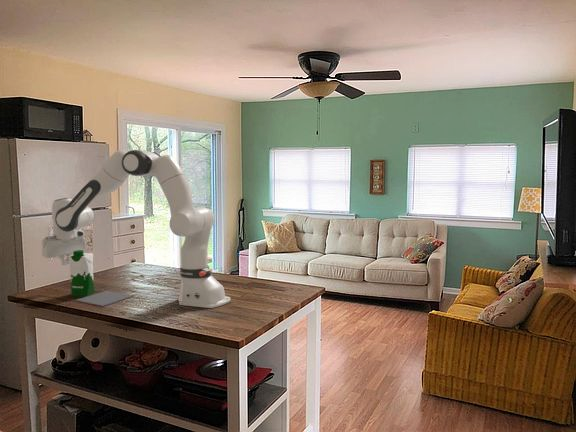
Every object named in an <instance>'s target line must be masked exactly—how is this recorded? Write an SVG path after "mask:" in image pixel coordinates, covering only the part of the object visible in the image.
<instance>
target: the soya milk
mask: <svg viewBox="0 0 576 432" xmlns="http://www.w3.org/2000/svg"><path fill="white" fill-rule="evenodd" d="M68 259H69V263H70V264H69V273H70V290H71V293H70V294H71V297H78V298H84V297H87V296H91V295H94V293H95V284H94V283H95V282H94V263H93V262H94V253H90V252H89V253H88V252H86V253H84V251H83V250H77V251H73V253H72V255H71V256H68Z"/></svg>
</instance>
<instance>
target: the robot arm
mask: <svg viewBox="0 0 576 432" xmlns="http://www.w3.org/2000/svg"><path fill="white" fill-rule="evenodd" d="M179 164H180V163H178V162H177V160H176V159H175V158H174V157H173V155H169V154H165V155H160V154H159V153H157V152H154V151H149V150H144V149H143V150H142V149H133V150H129V151H127V150H124V149H119V150H117V151H115V152H114V153H113V154H111V155H110V157H109V158H108V159H107V160H106V161H105V162H104V164H102V166H101V167H100V168H99V170H98V171H97V172H96V173H95V175H93V177H92V178H91V179H90V180H89V181H88V182H87V183H86V184H85V185H84V186H83V187H82V188H81V189H80V190H79V192H78V193H77V194H76V195H75V196H74V197H73V198H70V197H63V198H59V199H55V200H54V201H53V202H52V204H51V219H52V220H51V221H52V222H53V223H52V224H53V225H52V235H51V236H45V237H44V238H43V239H42V241H41V242H42V248H41V255H42V257H43V258H44V259H52V258H57V257H58V259H59V260H60V261H61V265H63V266H65V265H70V263H69V259H68V256H71V255H73V251H77V250H83V252H86V251H87V239H86V237H85V235H86V232H85V231H84V230H78V229H81V228H85V227H89V226H91V225H92V224H93V222H94V220H95V213H94V210H93V209H92V208H91V207H90V206H89V205H91V203H92V202H93V201H94V200H96V199H98V198H99V197H102V196H105V195H107V194H110V193H113V192H115V191H116V190H118V189H119V188H120V187H121V186H122V185H123V184H124V182H125V181H126V179H128V177H129V176H134V177H141V178H145V177H146V178H147V177H148V178H149V177H155V178H156V180H157V182H158V184H159V187H160V188H161V190H162V192H163V194H164V196H165V198H166V201H167V203H168V206H169V207H168V208H169V211H170V212H169V213H170V220H169V222H168V223H169V229H170V231H171V232H172V233H173V235H175V236H178V237H184V241H183V244H182V246H181V247H180V268H179V275H180V277H181V278H180V280H181V281H180V289H179V295H178V305H179V306H187V307H197V308H199V307H200V308H205V309H206V308H207V309H212V308H217V307H220V306H224V305H225V304H228V303H229V302H231V297H230V296H228V295H226V294H225V293H226V292H225V288H224V286H223V284H221V283H220V282H219V281H218V280H217V279H216V278H215V277H214V276H213V275H212V273H213V272H214V269H213V268H211V269H210V267H209V265H208V264H209V263H208V259H209V258H208V250H209V248H208V246H209V241H210V236H211V232H212V231H211V230H212V228H213V226H214V224H215V220H216V218H215V214H214V212H213V211H212V209H210V208H208V207H205V206H196V207H195V206H194V201H193V192H194V191H193V189H192V187H191V185H190V183H189V180H188V178H187V177H186V174H185V173H184V171H183V169H182V167H181V166H180V165H179ZM65 256H66V257H65ZM65 258H66V259H65Z"/></svg>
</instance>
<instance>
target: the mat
mask: <svg viewBox="0 0 576 432" xmlns="http://www.w3.org/2000/svg"><path fill="white" fill-rule="evenodd" d="M133 297H134V295H131V294H126V293H125V294H124V293H120V292H115V291H110V290H105V291H101V292H98V293H95V294H94V293H93V294H91V295H89V296H87V297H79V298H77V299H75V302H79V303H84V304H88V305H92V306H98V307H106V306H109V305H112V304H114V303H115V304H116V303H119V302H121V301H124V300H127V299H131V298H133Z"/></svg>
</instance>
